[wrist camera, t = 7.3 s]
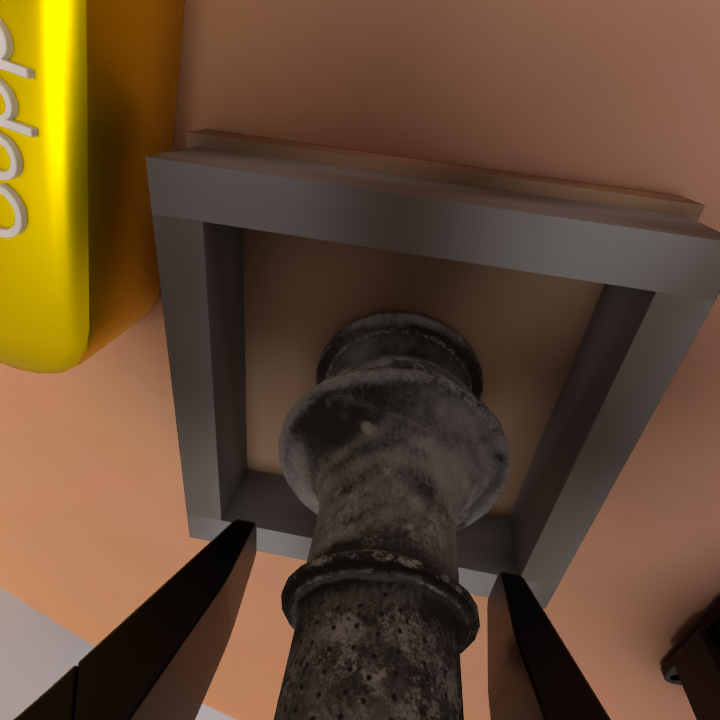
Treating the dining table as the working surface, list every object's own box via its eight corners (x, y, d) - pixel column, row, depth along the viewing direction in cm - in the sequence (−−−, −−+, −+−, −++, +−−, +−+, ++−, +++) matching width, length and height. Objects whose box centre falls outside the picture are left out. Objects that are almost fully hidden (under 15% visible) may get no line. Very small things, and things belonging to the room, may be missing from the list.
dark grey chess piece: (459, 470, 16) (518, 1130, 6) (297, 433, 16) (85, 1031, 6) (522, 327, 13) (868, 1208, 3) (321, 281, 13) (-41, 1003, 3)
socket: (681, 196, 12) (770, 231, 9) (531, 527, 19) (551, 615, 15) (205, 129, 13) (129, 139, 10) (223, 468, 19) (182, 540, 16)
